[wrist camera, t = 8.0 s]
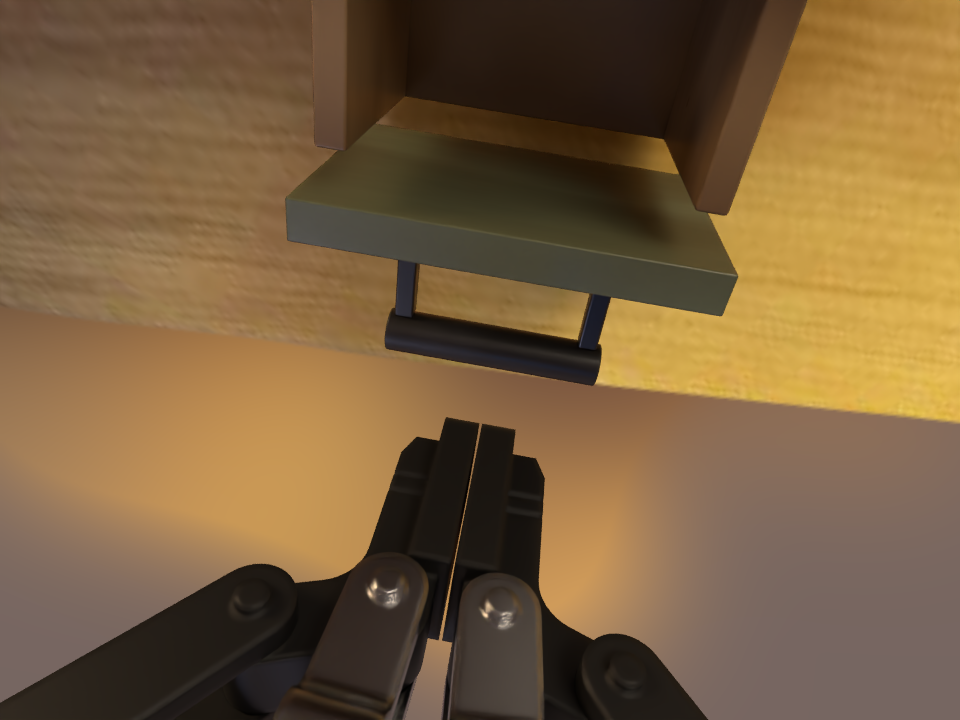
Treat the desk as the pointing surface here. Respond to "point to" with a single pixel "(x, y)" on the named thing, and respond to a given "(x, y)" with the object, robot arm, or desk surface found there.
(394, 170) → the drawer
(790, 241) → the desk surface
